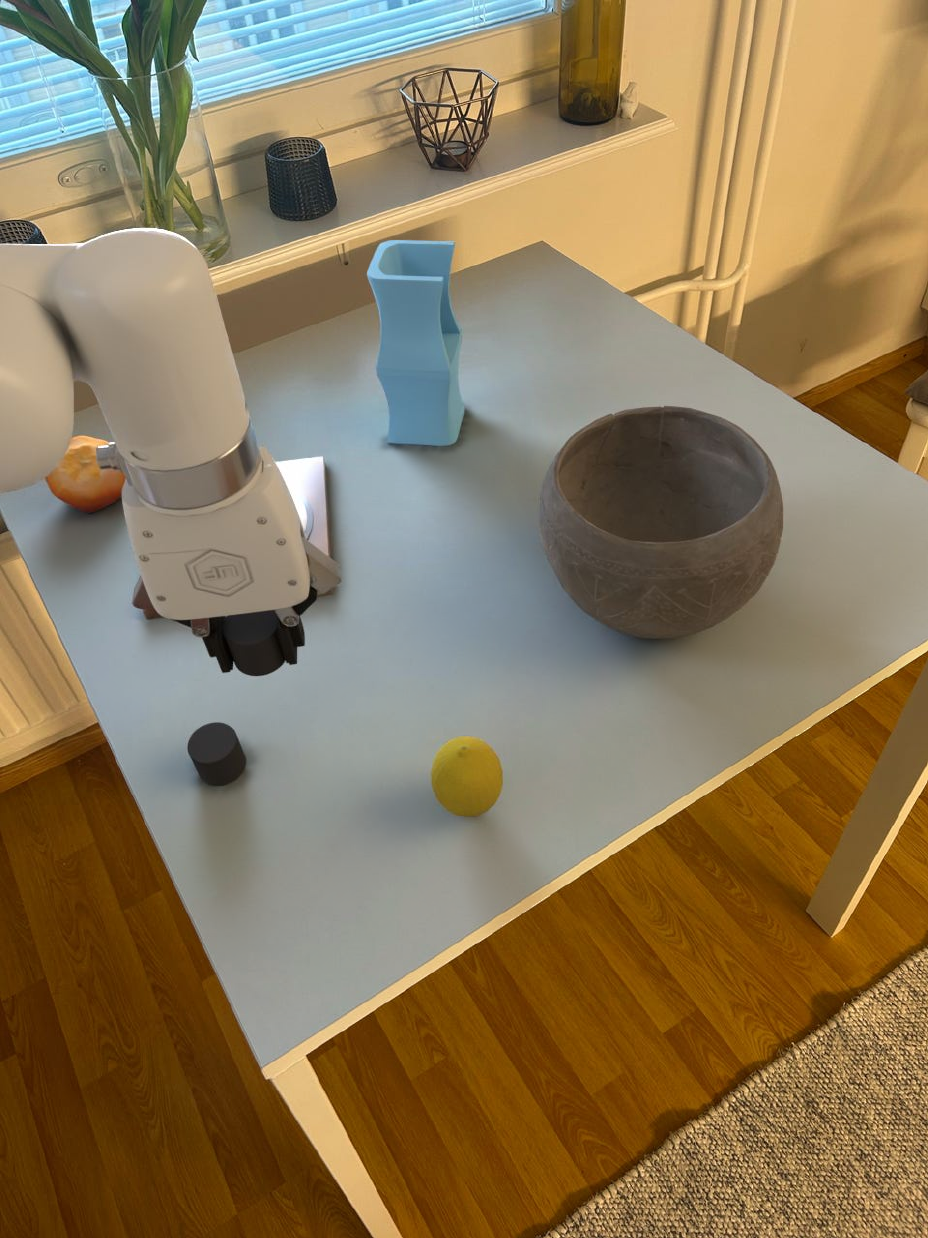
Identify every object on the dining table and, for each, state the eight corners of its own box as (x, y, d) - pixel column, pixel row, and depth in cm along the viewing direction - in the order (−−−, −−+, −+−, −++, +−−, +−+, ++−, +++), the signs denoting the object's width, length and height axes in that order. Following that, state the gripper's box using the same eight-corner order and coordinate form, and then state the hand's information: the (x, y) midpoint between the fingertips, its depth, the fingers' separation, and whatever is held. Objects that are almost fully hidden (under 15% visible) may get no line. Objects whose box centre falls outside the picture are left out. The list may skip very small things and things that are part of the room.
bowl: (494, 585, 90) (488, 464, 79) (642, 487, 98) (656, 364, 87) (656, 717, 79) (677, 598, 68) (808, 594, 87) (849, 470, 76)
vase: (455, 446, 105) (442, 281, 89) (387, 442, 106) (363, 278, 91) (466, 404, 110) (456, 240, 95) (401, 401, 111) (380, 238, 96)
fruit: (103, 447, 106) (98, 413, 98) (142, 503, 105) (139, 474, 98) (36, 479, 102) (25, 447, 95) (75, 537, 102) (67, 510, 95)
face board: (146, 619, 90) (142, 610, 89) (162, 484, 103) (159, 475, 102) (332, 594, 91) (330, 584, 90) (325, 464, 104) (323, 454, 103)
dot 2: (232, 679, 67) (220, 648, 64) (235, 637, 69) (223, 605, 67) (288, 673, 67) (278, 641, 64) (289, 630, 69) (279, 599, 67)
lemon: (516, 791, 75) (514, 735, 69) (482, 846, 72) (477, 793, 66) (457, 763, 77) (451, 707, 71) (421, 815, 74) (412, 761, 68)
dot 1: (197, 789, 77) (185, 766, 74) (199, 749, 80) (188, 725, 77) (245, 782, 77) (235, 759, 75) (246, 742, 80) (237, 718, 77)
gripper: (34, 514, 51) (139, 709, 65) (337, 479, 52) (378, 680, 66) (58, 431, 56) (151, 628, 70) (334, 400, 57) (372, 602, 71)
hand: (260, 651), depth 68 cm, fingers closed on dot 2, 4 cm apart
